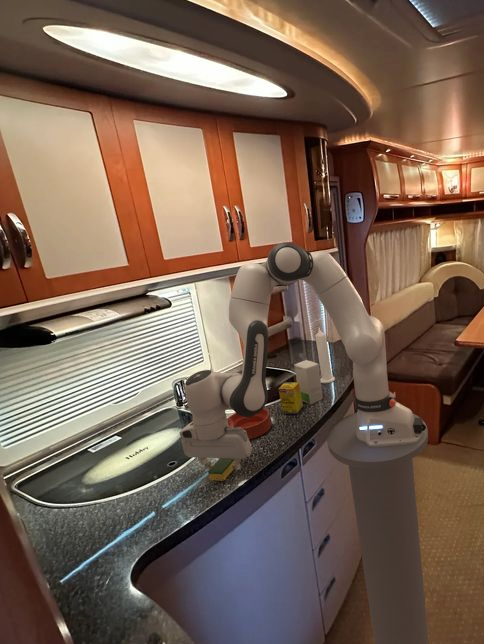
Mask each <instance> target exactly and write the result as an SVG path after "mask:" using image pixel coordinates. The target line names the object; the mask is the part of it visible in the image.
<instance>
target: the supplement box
mask: <svg viewBox="0 0 484 644" xmlns="http://www.w3.org/2000/svg"><path fill="white" fill-rule="evenodd" d="M278 393H279V399H280V404H281V409H282V414H283V415H297V416H298V415H299V414H300V412H301V411H302V410H303V409H304V405H303V401H302V398H301V392H300V386H299V382H297V381H296V382H288V381H286V382H284V383H282V384H281V385H280V387H278Z"/></svg>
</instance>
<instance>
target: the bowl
mask: <svg viewBox="0 0 484 644" xmlns="http://www.w3.org/2000/svg"><path fill="white" fill-rule="evenodd" d="M227 421H228V425H229V427H241V429H244V430H245V431H246V433H247V436H248V439H249V440H252V439H256V438H258V437H261V436H263V435H264V434H266V433H267V432H269V431H270V429H271V428H272V426H273V422H272V417H271V412H270V411H269V409H268V408H265V407H264V408H263V409H262V410H261V411H260V412H259V413H258V414H256V415H254V416H251V417H242V416H240V415H238V414H237V413H236V412H234V413H232V414H231V415H230V416H228V417H227Z"/></svg>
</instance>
